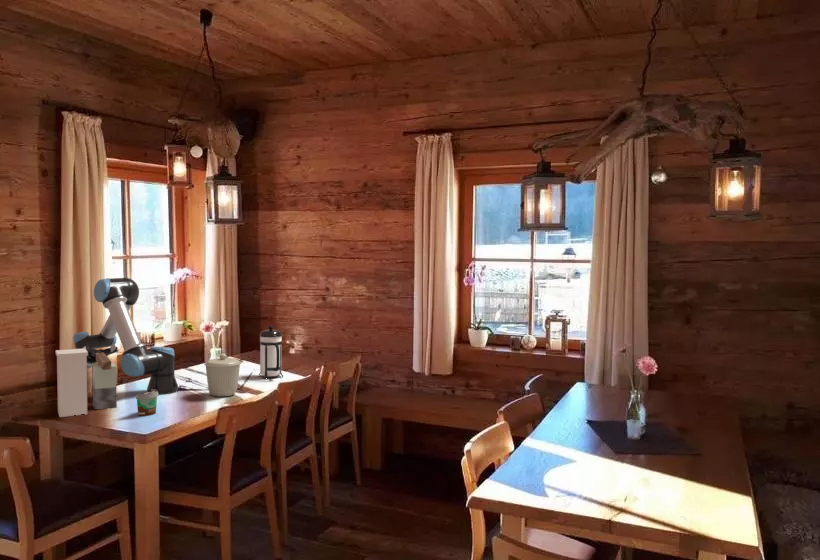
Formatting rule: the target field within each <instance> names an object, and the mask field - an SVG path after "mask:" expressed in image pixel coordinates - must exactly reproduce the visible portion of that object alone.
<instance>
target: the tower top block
mask: <svg viewBox="0 0 820 560" xmlns="http://www.w3.org/2000/svg"><path fill="white" fill-rule="evenodd" d="M91 368H92V387H93V386H94V388H95V389H102V388H113V387H116V388H117V365H116V364H115V363H114V362H111V369H108V370H103V369H102V368H101V367H100V365H99V364H98V363H97V364H96V363H95V364H92V367H91Z"/></svg>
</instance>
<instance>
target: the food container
mask: <svg viewBox="0 0 820 560" xmlns="http://www.w3.org/2000/svg"><path fill="white" fill-rule="evenodd" d="M159 395H160V394H158V391H157V390H155V389H151V391H150V392H147V391H146V392H143V393H142V394H136V397H135V400H136V405H137V406H136V407H137V417H147V416H153V415H156V413H157V403H158V401H157V400H158V397H159Z"/></svg>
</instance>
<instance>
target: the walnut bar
mask: <svg viewBox="0 0 820 560" xmlns="http://www.w3.org/2000/svg"><path fill="white" fill-rule="evenodd" d="M96 361H97V362H96V363H97V364H99V365H100V367H101V368H102V369H103V370H108V369H111V363H112V361H111V359H109V357H108V356H106V355H105V354H104V352H103V353H96Z"/></svg>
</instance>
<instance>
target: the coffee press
mask: <svg viewBox="0 0 820 560" xmlns="http://www.w3.org/2000/svg"><path fill="white" fill-rule="evenodd" d="M273 328H274V327H273V325H269V326H268V329H264V330H262V331H260V334H259V346H260V347H259V349H260V350H259V351H260V352H259V359H260V360H259V361H260V362H259V363H260V364H259V368H260V369H259V370H260V371H259V373H258V376H259V375H260V376H261V375H262V376H263V380H267V379H268V378H269V377H276V376H277V377H279V378H280V377H282V378H284V375H283V373H282V343H283V340H282V338H283V334H282V331H280V330H279V329H273ZM266 378H267V379H266Z"/></svg>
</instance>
